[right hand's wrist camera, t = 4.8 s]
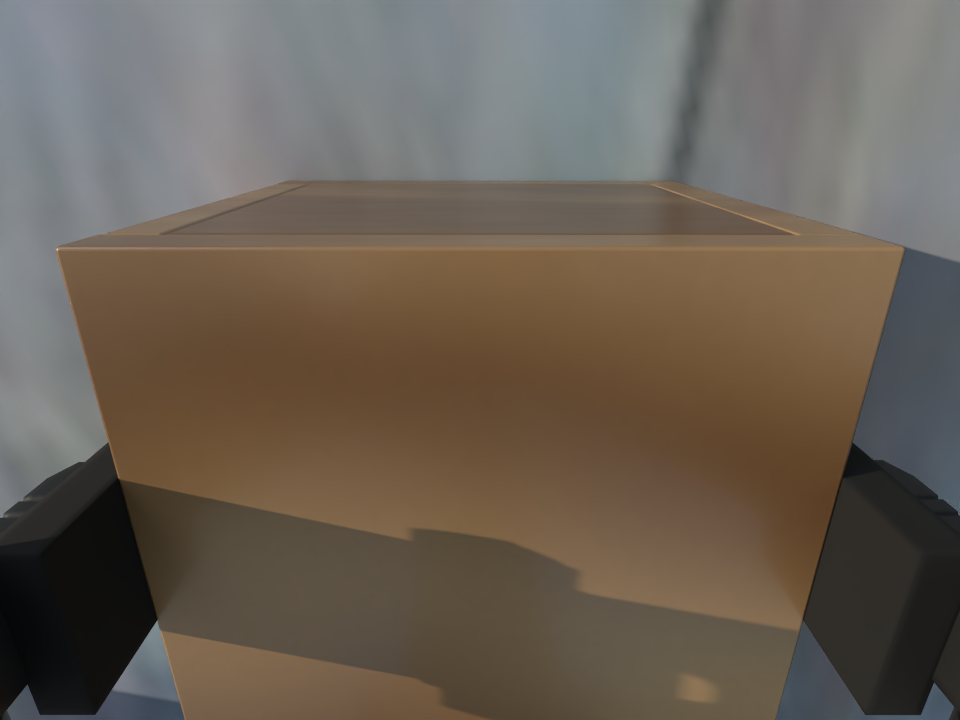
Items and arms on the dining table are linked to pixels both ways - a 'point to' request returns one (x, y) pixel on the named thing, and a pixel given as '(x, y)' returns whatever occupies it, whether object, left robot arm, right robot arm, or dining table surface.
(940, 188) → the dining table surface
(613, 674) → the cabinet
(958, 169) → the dining table surface
